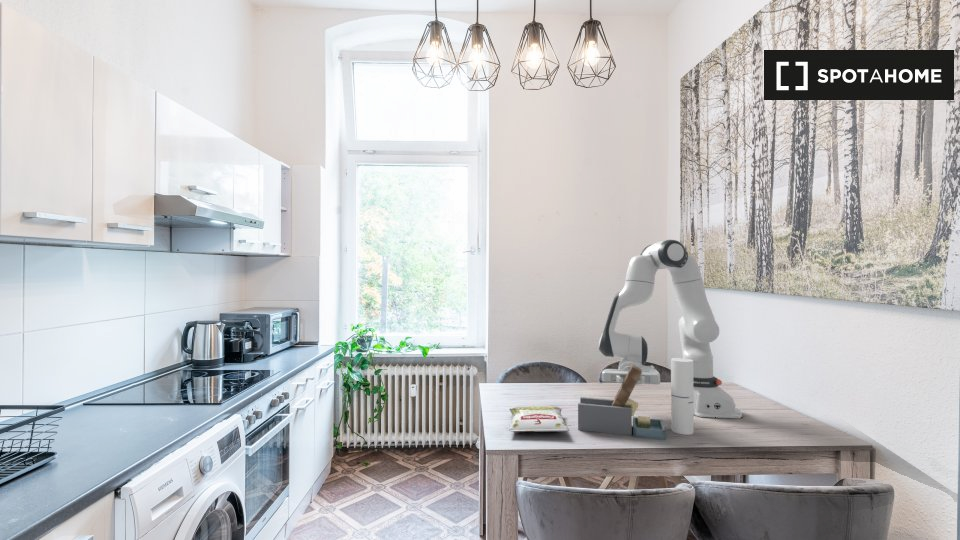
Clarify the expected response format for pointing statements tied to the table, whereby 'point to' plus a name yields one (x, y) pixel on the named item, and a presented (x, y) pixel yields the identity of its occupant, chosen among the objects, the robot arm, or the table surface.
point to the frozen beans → (537, 419)
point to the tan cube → (631, 405)
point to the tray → (654, 432)
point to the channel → (604, 416)
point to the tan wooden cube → (643, 422)
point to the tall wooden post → (627, 386)
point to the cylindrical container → (682, 396)
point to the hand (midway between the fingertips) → (630, 381)
